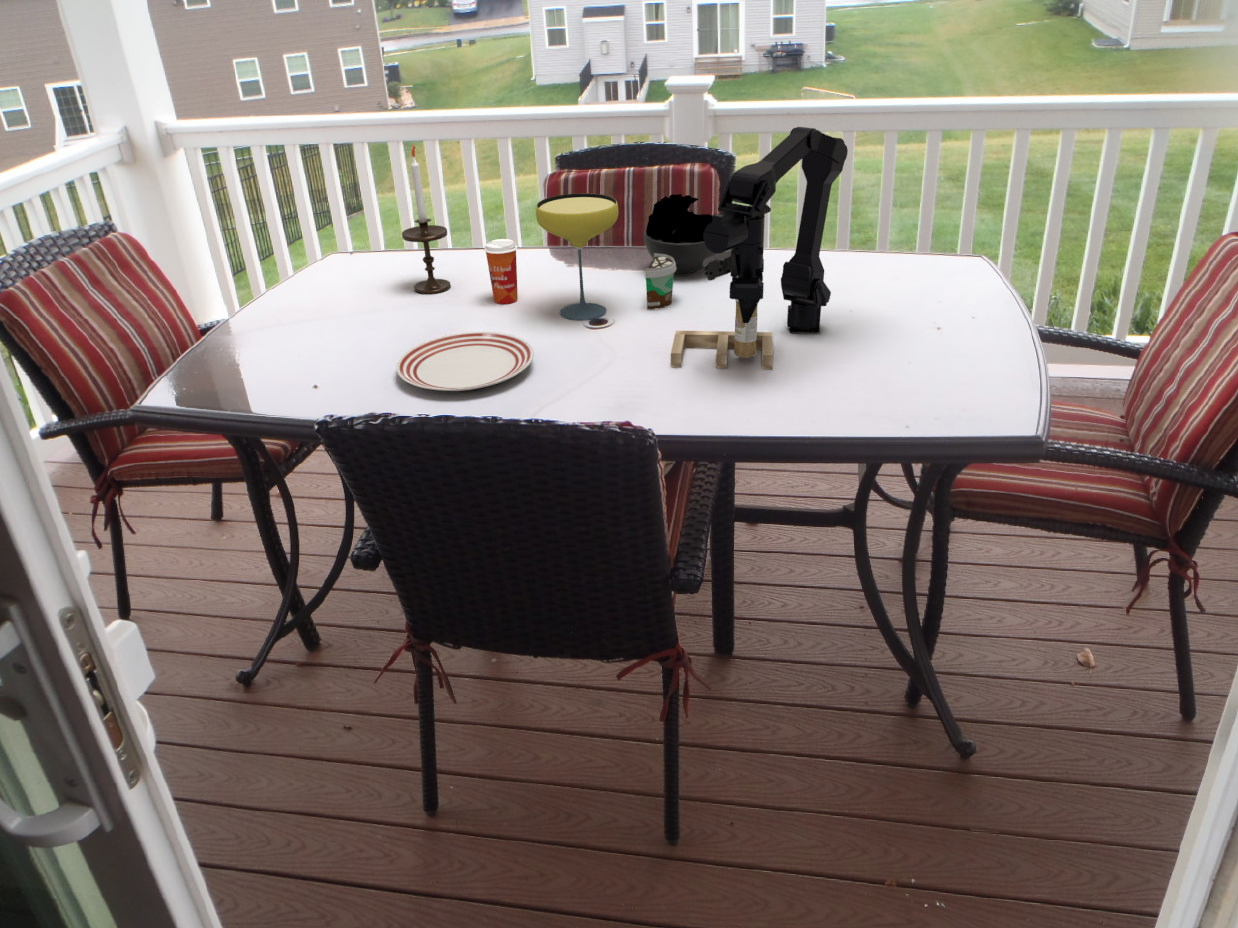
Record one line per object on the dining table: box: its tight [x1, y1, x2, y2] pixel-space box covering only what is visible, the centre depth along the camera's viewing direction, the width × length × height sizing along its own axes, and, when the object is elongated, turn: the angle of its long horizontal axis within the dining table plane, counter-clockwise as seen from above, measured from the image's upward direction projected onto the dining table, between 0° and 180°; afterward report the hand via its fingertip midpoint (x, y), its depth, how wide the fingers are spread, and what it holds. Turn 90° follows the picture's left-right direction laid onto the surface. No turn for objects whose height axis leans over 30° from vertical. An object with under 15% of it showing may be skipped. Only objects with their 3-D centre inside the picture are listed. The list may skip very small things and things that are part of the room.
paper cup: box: [483, 238, 519, 305], centre depth 219 cm, size 8×8×14 cm
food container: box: [644, 253, 677, 310], centre depth 215 cm, size 12×6×10 cm, turn 168°
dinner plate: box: [396, 331, 535, 392], centre depth 186 cm, size 27×27×3 cm
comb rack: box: [670, 330, 774, 370], centre depth 188 cm, size 20×12×3 cm, turn 82°
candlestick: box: [401, 143, 452, 295], centre depth 224 cm, size 11×11×35 cm
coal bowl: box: [643, 193, 717, 274], centre depth 232 cm, size 20×20×19 cm
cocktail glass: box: [535, 192, 619, 321], centre depth 208 cm, size 18×18×25 cm
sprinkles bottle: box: [733, 299, 759, 359], centre depth 182 cm, size 5×5×13 cm
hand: (746, 318), depth 182 cm, fingers closed on sprinkles bottle, 4 cm apart
